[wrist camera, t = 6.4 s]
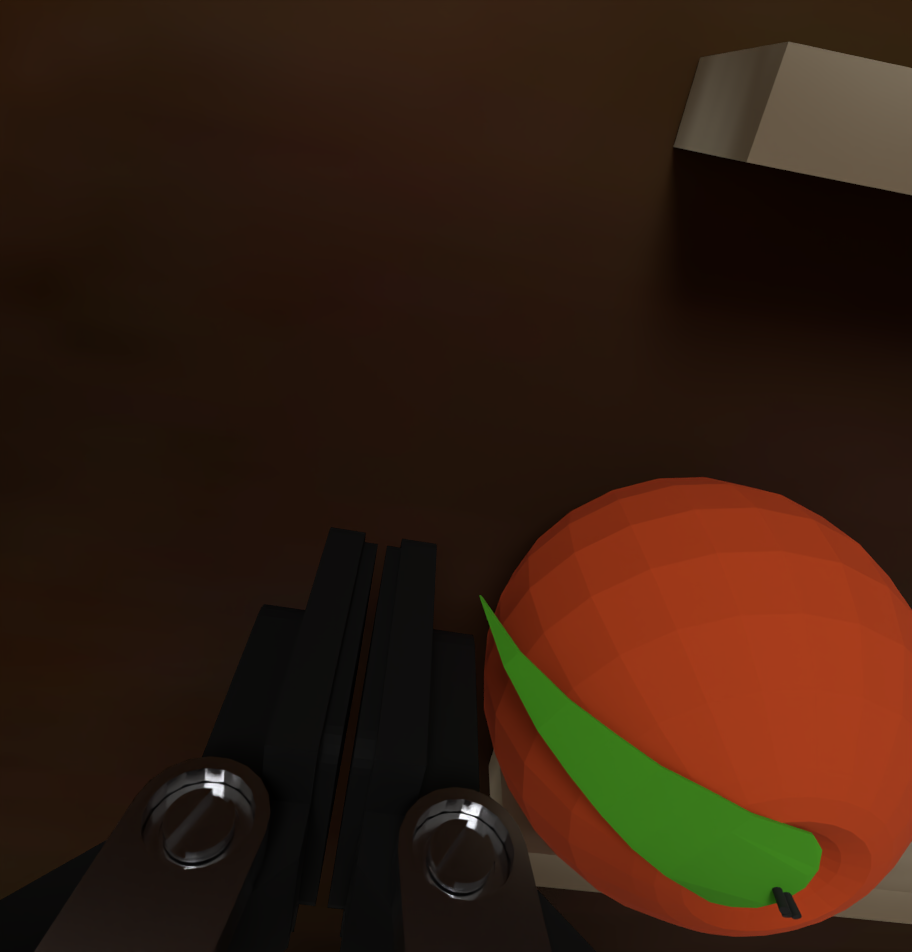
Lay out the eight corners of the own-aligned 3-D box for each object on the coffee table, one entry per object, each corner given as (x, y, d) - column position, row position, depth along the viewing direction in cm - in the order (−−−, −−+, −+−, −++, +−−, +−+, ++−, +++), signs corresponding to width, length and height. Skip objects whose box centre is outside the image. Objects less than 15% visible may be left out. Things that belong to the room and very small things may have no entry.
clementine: (367, 568, 14) (311, 930, 8) (585, 303, 12) (759, 532, 5) (639, 719, 17) (761, 1087, 10) (870, 528, 14) (1219, 867, 8)
